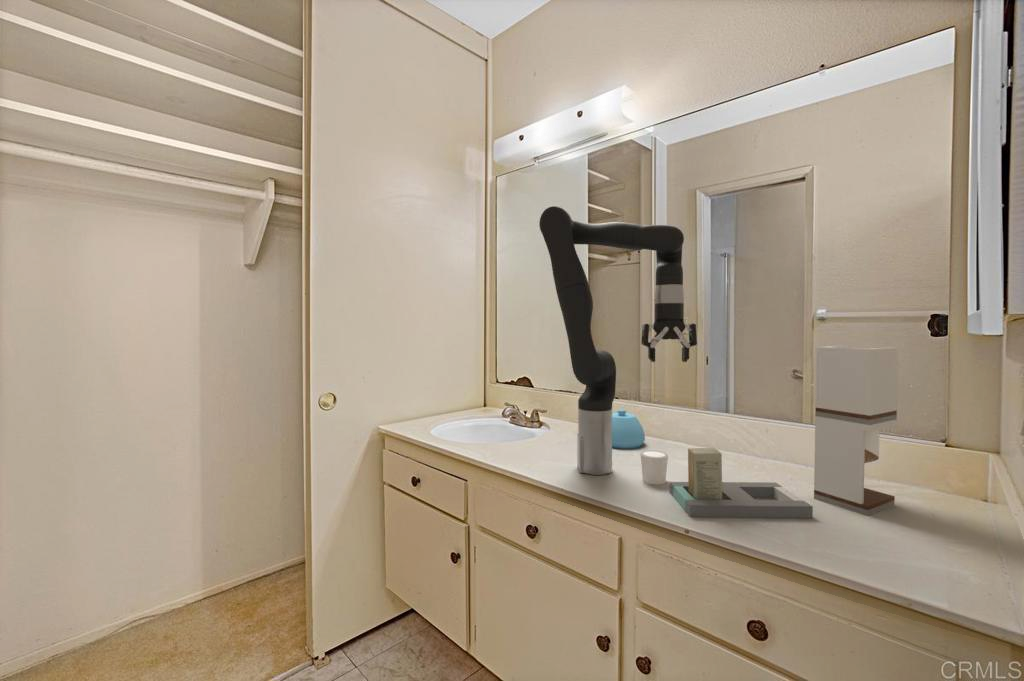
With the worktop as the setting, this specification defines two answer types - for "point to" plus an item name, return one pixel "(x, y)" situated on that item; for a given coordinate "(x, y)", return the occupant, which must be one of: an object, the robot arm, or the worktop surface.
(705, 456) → the skincare box
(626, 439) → the sugar bowl
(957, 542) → the worktop surface
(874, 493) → the coffee maker
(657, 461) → the white tapered cup
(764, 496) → the slot holder
